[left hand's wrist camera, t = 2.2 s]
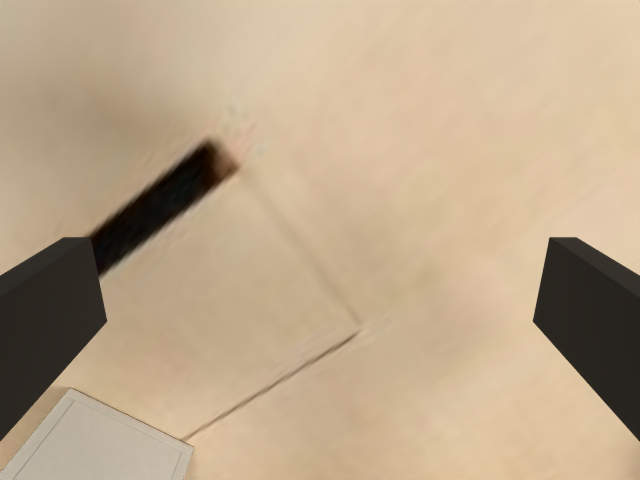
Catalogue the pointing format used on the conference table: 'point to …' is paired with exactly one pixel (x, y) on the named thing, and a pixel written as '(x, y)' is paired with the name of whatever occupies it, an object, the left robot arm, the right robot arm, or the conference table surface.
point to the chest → (96, 446)
